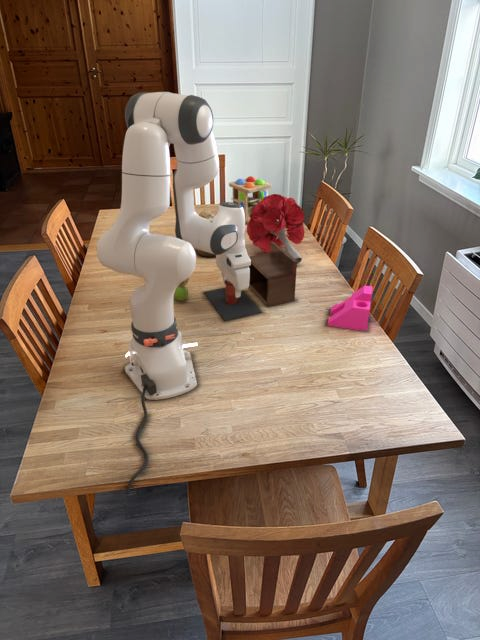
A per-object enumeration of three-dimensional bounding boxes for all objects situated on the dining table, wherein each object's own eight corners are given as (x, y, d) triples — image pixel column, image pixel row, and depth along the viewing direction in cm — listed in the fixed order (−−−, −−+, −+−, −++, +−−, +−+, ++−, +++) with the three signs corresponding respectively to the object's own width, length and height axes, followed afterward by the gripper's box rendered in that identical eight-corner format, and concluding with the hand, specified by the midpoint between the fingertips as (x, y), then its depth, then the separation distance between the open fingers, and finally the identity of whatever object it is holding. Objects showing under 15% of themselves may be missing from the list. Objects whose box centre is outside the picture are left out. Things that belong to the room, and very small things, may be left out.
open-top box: (294, 300, 169) (297, 261, 161) (268, 306, 166) (269, 266, 158) (272, 279, 182) (273, 241, 174) (247, 284, 179) (247, 246, 171)
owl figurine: (227, 258, 198) (226, 217, 188) (197, 260, 196) (195, 219, 187) (220, 240, 213) (219, 201, 203) (193, 242, 211) (191, 203, 202)
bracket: (368, 314, 162) (372, 286, 156) (366, 331, 153) (371, 302, 148) (331, 309, 164) (334, 281, 159) (327, 325, 156) (330, 297, 151)
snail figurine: (189, 304, 167) (187, 272, 160) (170, 302, 168) (168, 270, 161) (193, 296, 171) (191, 265, 165) (175, 294, 172) (173, 263, 166)
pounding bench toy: (283, 222, 230) (285, 184, 220) (260, 229, 222) (261, 190, 212) (251, 208, 245) (251, 172, 235) (228, 215, 237) (228, 178, 227)
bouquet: (313, 270, 203) (283, 215, 214) (330, 235, 182) (296, 175, 194) (266, 284, 196) (237, 226, 208) (278, 248, 176) (245, 186, 187)
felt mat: (261, 312, 163) (261, 311, 162) (225, 321, 158) (225, 320, 158) (237, 285, 178) (237, 284, 178) (203, 292, 174) (203, 291, 174)
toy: (240, 302, 167) (240, 276, 162) (228, 305, 166) (228, 278, 160) (235, 297, 171) (235, 271, 165) (223, 299, 169) (223, 273, 164)
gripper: (210, 241, 165) (212, 278, 173) (234, 266, 149) (234, 306, 157) (228, 238, 167) (228, 275, 175) (253, 263, 151) (252, 302, 159)
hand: (231, 290), depth 166 cm, fingers open, 8 cm apart
